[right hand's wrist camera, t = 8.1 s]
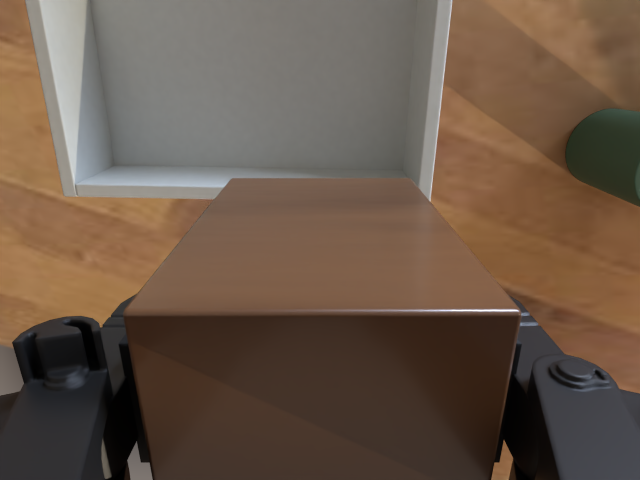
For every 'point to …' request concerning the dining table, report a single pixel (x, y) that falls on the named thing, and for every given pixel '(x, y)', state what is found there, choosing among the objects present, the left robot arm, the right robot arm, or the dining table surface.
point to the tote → (238, 91)
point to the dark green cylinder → (608, 153)
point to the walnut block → (321, 339)
